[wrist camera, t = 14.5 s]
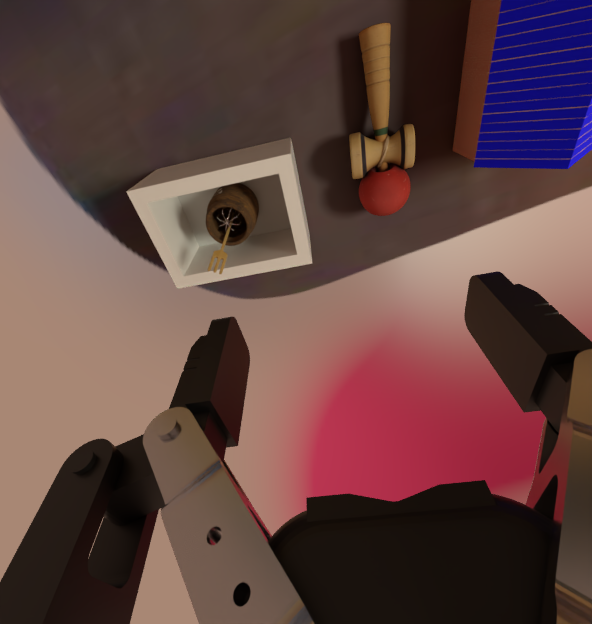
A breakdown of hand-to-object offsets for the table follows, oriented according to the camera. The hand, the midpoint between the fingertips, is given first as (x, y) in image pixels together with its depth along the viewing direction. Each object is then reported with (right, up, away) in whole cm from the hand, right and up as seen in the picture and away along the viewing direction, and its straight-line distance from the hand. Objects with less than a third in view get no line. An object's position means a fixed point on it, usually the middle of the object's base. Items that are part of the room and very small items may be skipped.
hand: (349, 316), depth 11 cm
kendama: (+7, +22, +26) cm, 34 cm away
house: (+21, +28, +21) cm, 41 cm away
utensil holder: (-10, +14, +30) cm, 34 cm away
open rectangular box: (-10, +15, +30) cm, 35 cm away
